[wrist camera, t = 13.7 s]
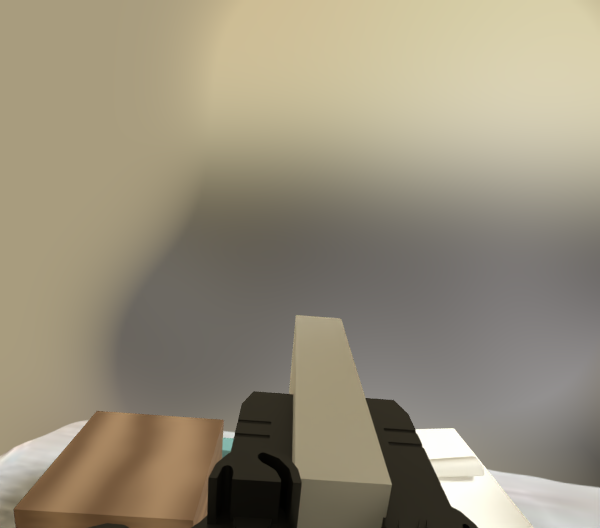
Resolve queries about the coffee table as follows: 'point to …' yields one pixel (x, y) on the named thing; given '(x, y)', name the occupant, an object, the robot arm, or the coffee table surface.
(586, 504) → the coffee table surface
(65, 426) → the coffee table surface
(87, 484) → the brown wooden block
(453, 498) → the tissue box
